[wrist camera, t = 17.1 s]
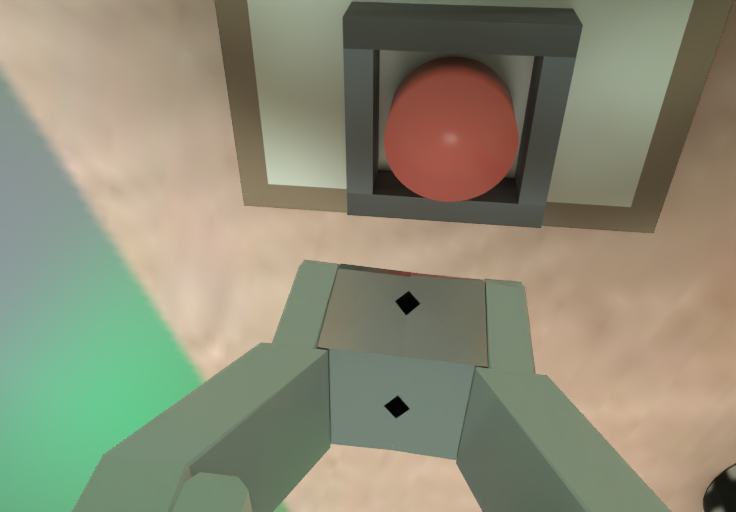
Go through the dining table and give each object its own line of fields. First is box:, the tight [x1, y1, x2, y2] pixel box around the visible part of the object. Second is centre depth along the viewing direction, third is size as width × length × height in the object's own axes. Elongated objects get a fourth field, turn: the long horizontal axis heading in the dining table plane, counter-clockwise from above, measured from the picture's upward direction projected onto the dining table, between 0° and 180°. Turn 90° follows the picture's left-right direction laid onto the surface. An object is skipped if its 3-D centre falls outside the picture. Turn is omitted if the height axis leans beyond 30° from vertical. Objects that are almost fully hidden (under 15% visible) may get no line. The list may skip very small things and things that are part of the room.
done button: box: [384, 56, 518, 202], centre depth 17 cm, size 4×4×2 cm
